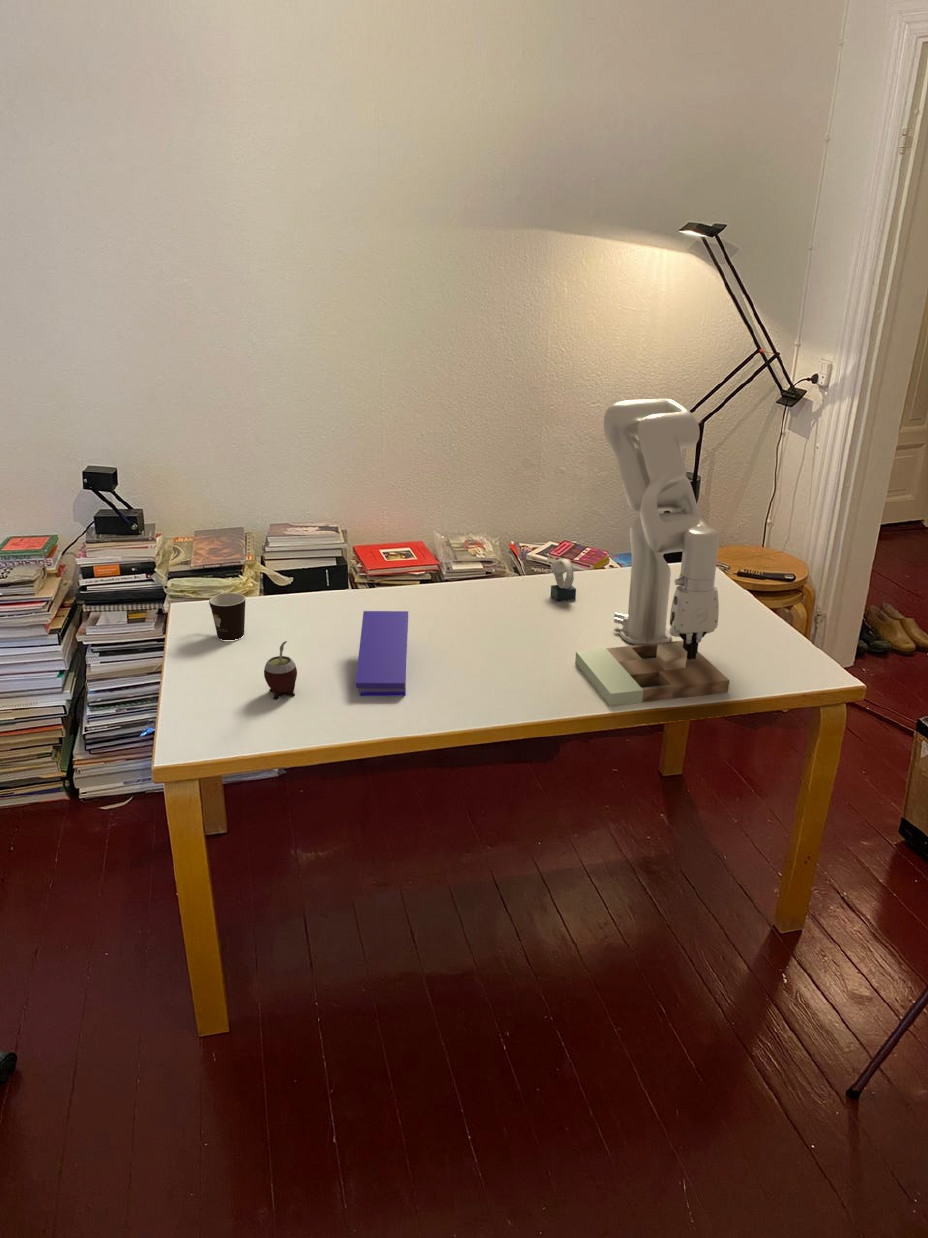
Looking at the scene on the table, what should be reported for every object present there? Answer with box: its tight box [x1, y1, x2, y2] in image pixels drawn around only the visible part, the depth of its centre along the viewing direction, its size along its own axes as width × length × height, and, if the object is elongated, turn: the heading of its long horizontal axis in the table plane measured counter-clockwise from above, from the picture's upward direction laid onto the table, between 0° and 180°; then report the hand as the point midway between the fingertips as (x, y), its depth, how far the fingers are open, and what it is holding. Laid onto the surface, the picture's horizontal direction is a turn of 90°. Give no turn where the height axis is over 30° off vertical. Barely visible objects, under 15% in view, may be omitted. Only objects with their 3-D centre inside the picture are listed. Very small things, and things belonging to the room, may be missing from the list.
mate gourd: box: [263, 640, 298, 701], centre depth 217 cm, size 8×8×15 cm
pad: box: [574, 647, 643, 707], centre depth 226 cm, size 8×22×3 cm, turn 14°
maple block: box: [656, 643, 687, 670], centre depth 227 cm, size 5×5×4 cm
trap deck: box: [606, 640, 731, 703], centre depth 229 cm, size 20×22×3 cm
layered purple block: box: [355, 610, 409, 697], centre depth 230 cm, size 12×28×10 cm, turn 3°
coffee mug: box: [208, 592, 246, 640], centre depth 247 cm, size 12×9×10 cm
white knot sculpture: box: [550, 557, 577, 603], centre depth 271 cm, size 6×8×11 cm
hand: (689, 656), depth 229 cm, fingers closed
